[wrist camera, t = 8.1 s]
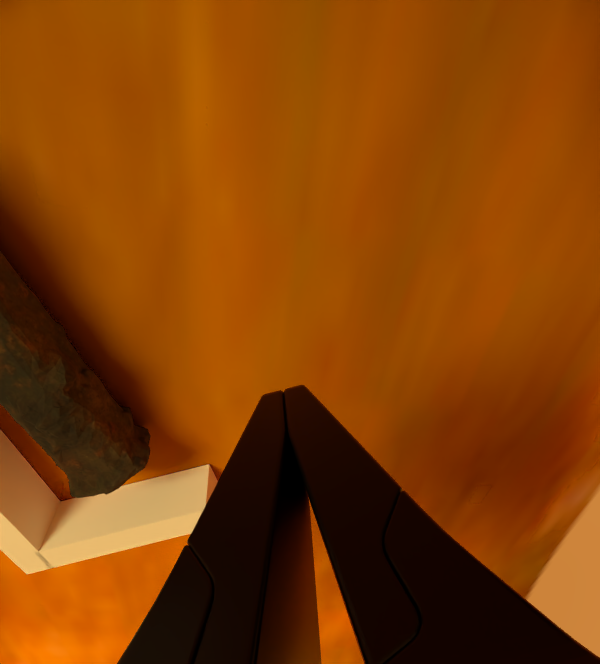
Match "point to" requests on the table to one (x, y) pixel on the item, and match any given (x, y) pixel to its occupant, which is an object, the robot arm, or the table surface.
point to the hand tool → (63, 396)
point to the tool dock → (92, 514)
